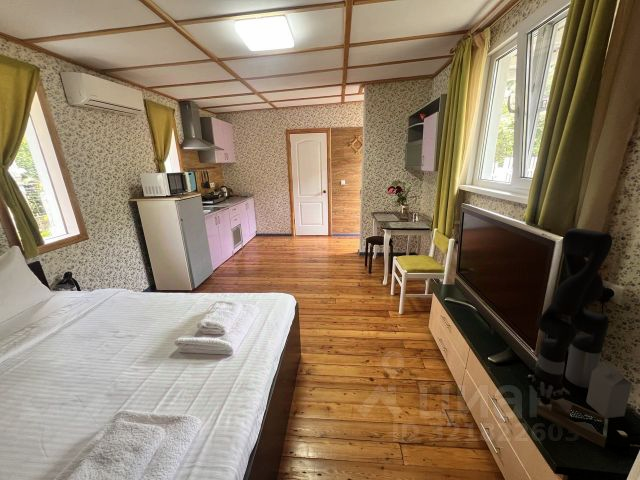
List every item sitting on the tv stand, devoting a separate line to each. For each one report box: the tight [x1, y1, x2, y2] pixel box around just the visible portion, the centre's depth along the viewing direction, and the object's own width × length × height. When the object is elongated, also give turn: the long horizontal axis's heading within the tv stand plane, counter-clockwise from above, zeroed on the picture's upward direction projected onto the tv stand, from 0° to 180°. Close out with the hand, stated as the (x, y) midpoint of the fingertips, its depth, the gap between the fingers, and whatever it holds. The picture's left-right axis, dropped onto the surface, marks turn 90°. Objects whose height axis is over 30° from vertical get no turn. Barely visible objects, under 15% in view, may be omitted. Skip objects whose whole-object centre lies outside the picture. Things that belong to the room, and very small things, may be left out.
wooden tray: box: [535, 391, 609, 448], centre depth 97 cm, size 10×18×4 cm, turn 41°
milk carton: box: [585, 360, 633, 419], centre depth 97 cm, size 7×7×19 cm
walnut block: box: [551, 399, 572, 419], centre depth 98 cm, size 5×5×4 cm
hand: (544, 403), depth 102 cm, fingers closed
